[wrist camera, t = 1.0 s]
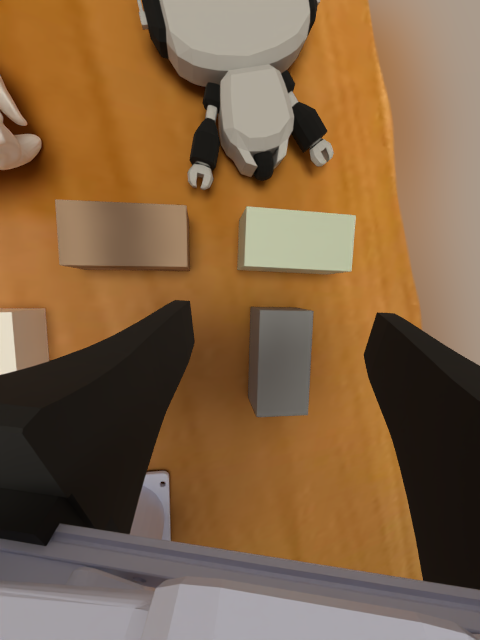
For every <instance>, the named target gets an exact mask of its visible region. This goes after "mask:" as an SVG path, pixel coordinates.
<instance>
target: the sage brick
mask: <svg viewBox="0 0 480 640" xmlns="http://www.w3.org/2000/svg"><path fill="white" fill-rule="evenodd" d="M355 220H356V215H345V214H333V213H321V212H308V211H296V210H284V209H272V208H260V207H248V206H247V207H246V209H245V210H244V212H243V214H242V216H241V218H240V220H239V239H238V266H237V270H250V271H270V272H290V273H311V274H335V273H343V272H351V270H352V258H353V245H354V232H355Z"/></svg>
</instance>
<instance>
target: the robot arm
mask: <svg viewBox="0 0 480 640" xmlns="http://www.w3.org/2000/svg"><path fill="white" fill-rule="evenodd" d="M194 342H195V341H194V333H193V324H192V315H191V307H190V301H180V300H175V301H173V302H171V303H169V304H167V305H165V306H164V307H162V308H160V309H159V310H157V311H156V312H154V313H152V314H151V315H149V316H147V317H146V318H144V319H142V320H141V321H139V322H137V323H135V324H134V325H132V326H130V327H128V328H126V329H124V330H123V331H121V332H119V333H117V334H115V335H113V336H111V337H109V338H107V339H105V340H103V341H101V342H98V343H96V344H94V345H92V346H89V347H87V348H84V349H82V350H79V351H76V352H74V353H71V354H68V355H65V356H63V357H60V358H57V359H54V360H51V361H48V362H45V363H42V364H38V365H35V366H32V367H28V368H25V369H21V370H17V371H14V372H10V373H6V374H2V375H0V640H480V366H479V365H477V364H475V363H474V362H472V361H470V360H469V359H467V358H465V357H463V356H462V355H460V354H458V353H457V352H455V351H453V350H452V349H450V348H448V347H447V346H445V345H443V344H442V343H440V342H439V341H437V340H436V339H434V338H433V337H431V336H429V335H428V334H427V333H425V332H424V331H422V330H421V329H419V328H418V327H416V326H414V325H413V324H411V323H410V322H408V321H407V320H405V319H403V318H402V317H400V316H398V315H396V314H393V313H377V314H376V317H375V321H374V324H373V327H372V330H371V333H370V336H369V340H368V343H367V346H366V349H365V352H364V359H365V364H366V369H367V373H368V377H369V380H370V383H371V385H372V388H373V391H374V393H375V396H376V399H377V401H378V404H379V406H380V409H381V411H382V414H383V416H384V419H385V421H386V424H387V427H388V429H389V432H390V435H391V438H392V441H393V444H394V448H395V451H396V455H397V459H398V463H399V466H400V470H401V474H402V478H403V483H404V487H405V491H406V495H407V499H408V504H409V509H410V513H411V518H412V523H413V528H414V532H415V537H416V543H417V548H418V554H419V559H420V565H421V571H422V576H423V581H420V580H414V579H407V578H401V577H395V576H389V575H382V574H376V573H370V572H363V571H357V570H351V569H344V568H338V567H332V566H325V565H319V564H313V563H306V562H300V561H294V560H288V559H281V558H275V557H269V556H262V555H256V554H250V553H243V552H237V551H231V550H224V549H218V548H212V547H205V546H199V545H193V544H186V543H180V542H174V541H171V528H170V490H169V473H168V472H167V471H153V472H147V469H148V465H149V462H150V459H151V456H152V452H153V449H154V446H155V443H156V440H157V437H158V434H159V431H160V428H161V425H162V422H163V419H164V416H165V414H166V411H167V409H168V406H169V404H170V402H171V400H172V398H173V396H174V393H175V391H176V389H177V387H178V385H179V383H180V380H181V378H182V376H183V374H184V372H185V369H186V367H187V365H188V363H189V359H190V356H191V353H192V349H193V346H194ZM162 481H164V482H165V484H162V483H161V482H162Z"/></svg>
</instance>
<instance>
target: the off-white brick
mask: <svg viewBox="0 0 480 640" xmlns="http://www.w3.org/2000/svg"><path fill="white" fill-rule="evenodd" d="M48 361H49V352H48V339H47V325H46V312H45V308H0V375H2V374H6V373H10V372H14V371H17V370H21V369H25V368H28V367H32V366H35V365H38V364H42V363H45V362H48Z"/></svg>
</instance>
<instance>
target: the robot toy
mask: <svg viewBox="0 0 480 640" xmlns="http://www.w3.org/2000/svg"><path fill="white" fill-rule="evenodd" d="M137 2H138V6H139V10H140V12H139V15H140V20H141V24H142V28H143V30H144V29H149V33H150V37H151V40H152V41H153V43H154V45H155V46H156V48H157V50H158V51H159V53H160V55H161V56H162V57H163V58H167V59H169V60H170V62H171V63H172V65H173V67H174V68H175V70H176V71H177V73H178V74H179V76H181V77H182V78H184V79H186V80H188V81H189V82H191V83H193V84H196V85H199V86H204V87H205V92H204V98H203V105H204V108H205V109H206V110H207V111H206V117H205V120H204V121H203V122H202V123H201V125H200V126H199V127H198V129H197V130H196V132H195V134H194V137H193V143H192V149H191V155H190V162H191V163H192V167H191V168H190V169H189V171H188V182H189V183H190V185H191V186H192V187H195V188H197V185H196V182H197V177H200V178H203V182H202V185H201V187H200V188H201V189H202V190H206V189H208V188H210V186H211V184H212V181H213V175H212V171H211V170H214V169H215V168H216V163H217V157H218V152H219V147H220V142H221V146H222V148H223V149H224V151H225V153H226V155H227V156H228V157H229V158H231V159H232V160H233V161H234V163H235V165H236V166H237V168H238V170H239V172H240V173H241V174H243V175H246V176H249V177H252V175H253V174H254V176H255V178H256V179H257V180H259V181H264V180H267V179H269V178H270V177H271V176H272V174H273V170H274V169H275V168H276V167H277V166H278V165H279V163H280V162H281V161H282V159H283V158H284V157H285V156H286V152H287V145H288V138H289V136H290V134H292V136H293V137H294V139H295V140H296V142H297V144H298V145H299V147H300V149H301V150H302V152H303V153H304V152H305V151H306V150H308V149H309V148H310V157H311V161H312V162H313V163H314V164H315V165H316V166H322V165H324V164H325V163H326V162H327V161H329V160H330V159H331V158H332V156H333V153H334V152H333V149H332V146H331V144H330V143H329V142H327V141H326V140H324V139H322V137H323V136H324V135H325V134H326V132H327V129H326V128H325V126H324V124H323V123H322V121H321V119H320V117H319V116H318V114H317V112H316V110H315V109H313V108H311V107H309V106H307V105H305V104H303V103H300V102H298V100H297V99H296V97H295V95H294V94H293V90H294V86H295V83H294V81H293V79H292V77H291V76H290V74H289V72H288V71H287V69H288V68H289V67H290V66H291V65H292V63H293V62H294V61H295V60H296V59H297V57H298V55H299V53H300V51H301V49H302V47H303V45H304V42H305V40H306V38H307V36H308V34H309V32H310V30H311V28H312V26H313V24H314V21H315V18H316V11H317V5H318V4H319V3H320V0H142V3H143V8H144V11H143V9H142V5H141V1H140V0H137ZM217 114H218V125H219V134H220V140H219V135H218V131H217V127H216V123H215V122H216V117H217ZM324 158H325V159H324ZM325 160H326V161H325Z"/></svg>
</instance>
